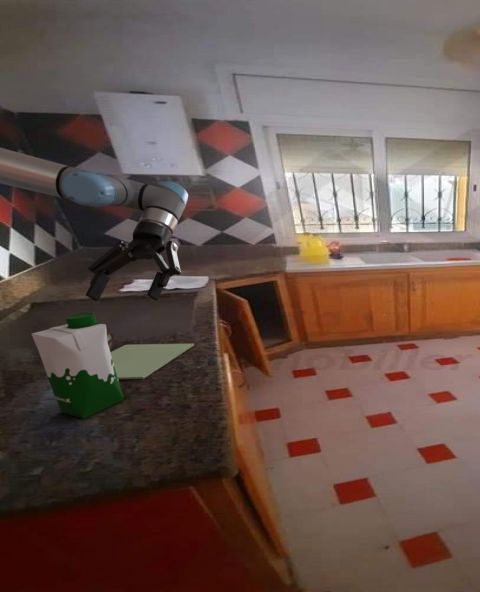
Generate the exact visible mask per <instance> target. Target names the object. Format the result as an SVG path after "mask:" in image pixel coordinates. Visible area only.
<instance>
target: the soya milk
mask: <svg viewBox="0 0 480 592" xmlns="http://www.w3.org/2000/svg"><path fill="white" fill-rule="evenodd" d="M65 320H66V324H62V325H58V326H53V327H50V328H48V329H44V330H40V331H37V332H36V331H35V332H33V333H31V336H32V339H33V341H34V344H35V346H36V349H37V351H38V353H39V354H38V355H39V356H40V359H41V362H42V364H43V368H44V370H45V373H46V376H47V378H48V381H49V384H50V387H51V390H52V393H53V396H54V398H55V400H56V402H57V404H58V406H59V408H60V410H61V412H62V413H64V414H67V415H70V416H74V417H77V418H80V419H83V420H85V419H86V418H88V417H90V416H92V415H94V414H97V413H99V412H100V411H103V410H105V409H107V408H109V407H111V406H113V405H115V404H117V403H120V402H122V401H123V400H125V398H124V394H123V391H122V388H121V384H120V381H119V379H118V378H117V374H116V371H115V367H114V364H113V360H112V357H111V353H110V352H111V349H110V350H109V346H108V342H107V332H106V329H107V324H105V323H102V322H99V321H97V319H96V315H95V313H94V312H82V313H81V312H80V313H75V314H72V315H68V316H66V317H65Z"/></svg>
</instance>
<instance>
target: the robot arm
mask: <svg viewBox="0 0 480 592" xmlns="http://www.w3.org/2000/svg"><path fill="white" fill-rule="evenodd" d="M0 184H1V185H7V186H10V187H14V188H18V189H24V190H27V191H31V192H37V193H40V194H45V195H49V196H52V197H57V198H62V199H66V200H68V201H72V202H74V203H75V204H77V205H80V206H83V207H84V206H85V207H90V208H103V207H105V208H106V207H107V208H108V207H124V208H128V209H134V210H138V211H142V214H141V216H140V218H139V219H138V223H137V224H136V226H135V227H134V229H133V231H132V239H131V241H130V242H123V241H122V240H121V239H120V240H117V241H116V242H115V244H114V245H113V246H112V247H111V248H110V249H109V250H108V251H107V252H105V253H104V254H103V255H102V256H100V257H99V258H98V259H96V261H94V262H93V263H91V264H90V265H89V266H88V267H87V270H88V271H90V272H91V273H93V276H92V278H91V280H90V282H89V285H90V286H89V288H88V289H87V291H86V293H85V297H87V298H89V299H91V300H93V301H95V302H97V301H98V302H99V301H100V298H101V297H102V295H103V293H104V291H105V289H106V287H107V285H108V284H109V282H110V279H111V277H109V276H110V275H112V274H113V273H115V272H117V271H118V270H120V269H121V268H123V267H125V266H126V265H128V264H129V263H132V262H133V263H134V262H136V261H137V260H152V259H153V260H154V262H155V264H156V265H157V267H158V268H159V271H156V273H155V275H154V278H153V280H152V281H151V285H150V286H149V289H148V291H147V293H146V296H147V297H149V298H150V299H152V300H153V301H159V299H160V297H161V295H162V292H163V289H164V288H166V287H167V286H168V283H169V281H170V279H171V278H172V277H174V276H175V275H176V276H179V275H181V274H182V270H181V266H180V261H179V257H178V250H179V246H177V245H176V243H175V242H174V241H173V240H171V239H172V238H173V234H174V232H175V230H176V228H177V225H178V223H179V221H180V218H181V217H182V215H183V212H184V210H185V209H186V207H187V206H186V205H187V202H188V199H189V194H188V192H187V190H186V189H185V188H184V187H183V186H182V185H180V184H178V183H176V182H173V181H170V180H166V181H165V180H162V181H159V182H158V183H157V184H156V185H152V184H147V183H143V182H139V181H137V180H133V179H129V178H125V177H122V176H119V175H116V174H111V173H107V172H106V173H105V172H92V171H89V170H85V169H80V168H79V167H78V168H77V167H72V166H69V165H65V164H63V163H58V162H55V161H51V160H48V159H43V158H40V157H37V156H36V157H35V156H32V155H29V154H25V153H22V152H18V151H14V150H11V149H7V148H4V147H0ZM164 251H165V252H166V256H167V257H166V258H167V261H168V264H167V263H166V261H165V260H164V257H163V256H162V254H161V253H163V252H164ZM130 254H131V255H132V256H131V255H130Z"/></svg>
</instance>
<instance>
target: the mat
mask: <svg viewBox="0 0 480 592" xmlns="http://www.w3.org/2000/svg"><path fill="white" fill-rule="evenodd" d="M194 346H195V343H148V344H147V343H144V344H143V343H142V344H135V343H134V344H124V345H122V346H120V347H118V348H116V349H114V350H112V351H110V353H111V357H112V360H113V364H114V367H115V371H116V374H117V378H118V380H145V378H147V377H149V376H150V375H152V374H153V373H154V372H156V371H158V370H159V369H161V368H162V367H164V366H165V365H168V364H169V362H172V361H173V360H174V359H176V358H177V357H179V356H180V355H182V354H183V353H185V352H186V351H188V350H189V349H191V348H192V347H194Z"/></svg>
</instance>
